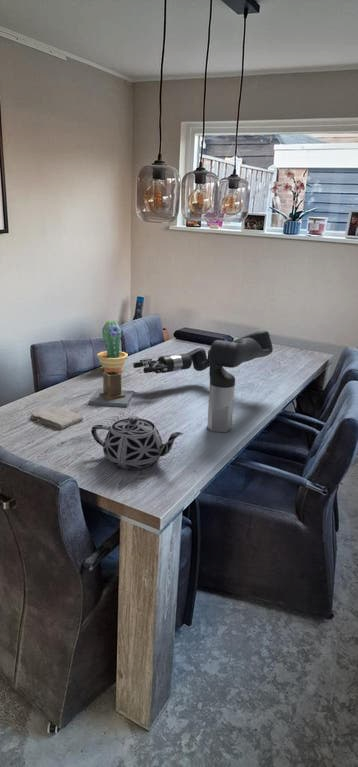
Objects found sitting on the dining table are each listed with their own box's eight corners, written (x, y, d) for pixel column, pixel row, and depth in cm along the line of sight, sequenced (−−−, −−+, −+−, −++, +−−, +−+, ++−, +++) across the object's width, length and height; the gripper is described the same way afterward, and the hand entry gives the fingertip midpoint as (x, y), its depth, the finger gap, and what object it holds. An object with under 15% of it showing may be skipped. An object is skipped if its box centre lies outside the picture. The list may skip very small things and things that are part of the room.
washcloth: (52, 410, 205) (51, 403, 204) (84, 421, 195) (84, 413, 194) (28, 419, 195) (27, 411, 194) (61, 431, 186) (61, 423, 185)
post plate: (127, 407, 210) (127, 384, 207) (88, 404, 211) (88, 381, 208) (134, 394, 225) (134, 372, 222) (98, 391, 226) (98, 370, 223)
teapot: (174, 482, 153) (176, 436, 148) (79, 466, 160) (78, 422, 155) (189, 455, 171) (191, 413, 166) (103, 442, 178) (102, 401, 173)
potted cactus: (92, 373, 252) (91, 322, 244) (102, 364, 266) (102, 316, 258) (123, 375, 249) (123, 325, 241) (131, 367, 263) (132, 319, 256)
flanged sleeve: (125, 397, 217) (125, 374, 213) (108, 400, 212) (107, 377, 209) (116, 391, 223) (116, 369, 220) (99, 394, 218) (99, 372, 215)
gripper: (178, 375, 225) (147, 380, 216) (161, 367, 236) (130, 372, 227) (179, 359, 223) (147, 363, 214) (161, 351, 234) (130, 355, 225)
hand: (138, 368), depth 221 cm, fingers open, 8 cm apart
